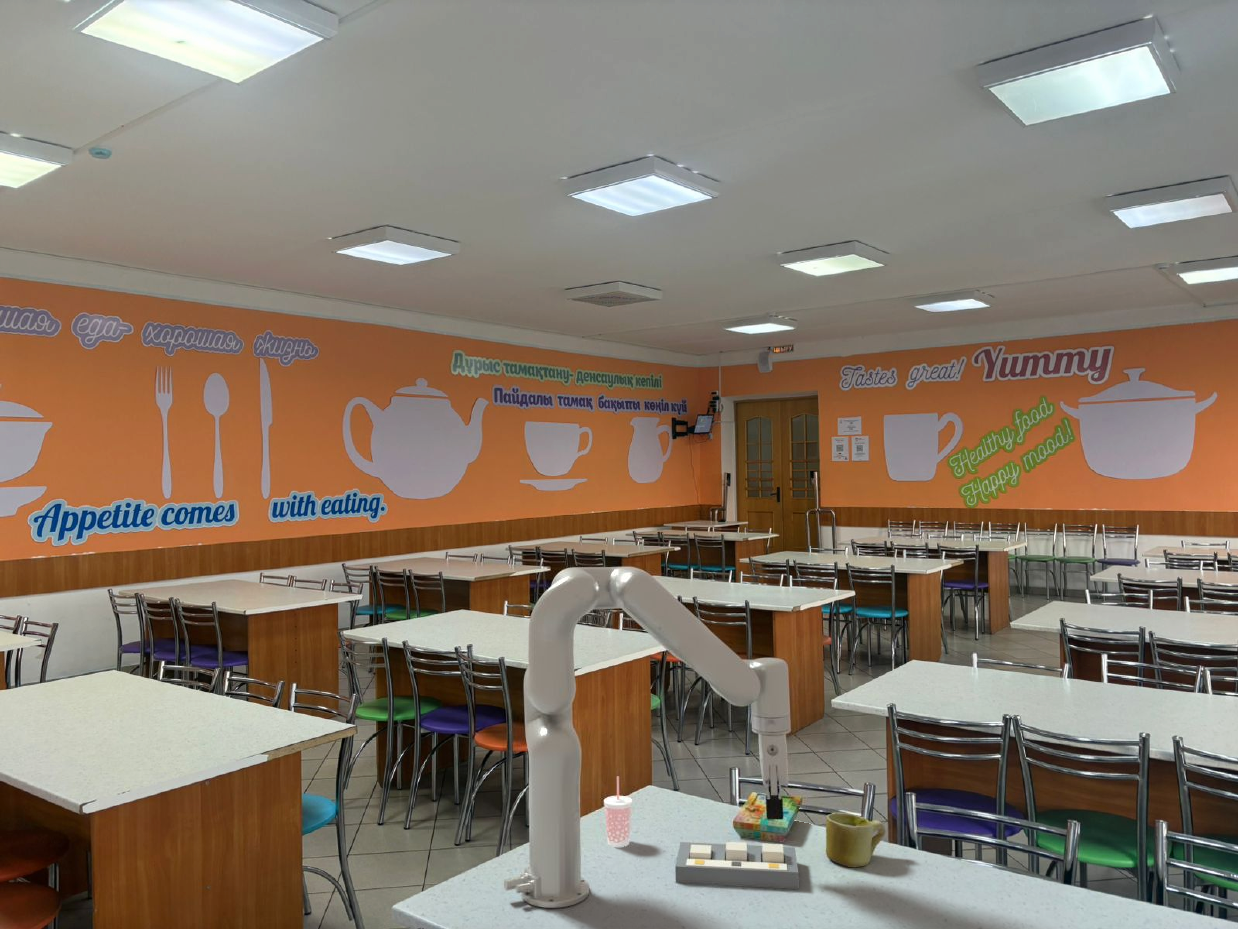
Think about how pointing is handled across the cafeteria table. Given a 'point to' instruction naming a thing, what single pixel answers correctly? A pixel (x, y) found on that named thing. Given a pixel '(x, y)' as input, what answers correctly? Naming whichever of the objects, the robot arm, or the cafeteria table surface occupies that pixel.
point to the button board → (736, 868)
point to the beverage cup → (618, 819)
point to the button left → (701, 852)
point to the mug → (851, 838)
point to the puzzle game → (765, 818)
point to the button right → (772, 853)
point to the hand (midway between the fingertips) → (774, 817)
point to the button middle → (736, 851)
